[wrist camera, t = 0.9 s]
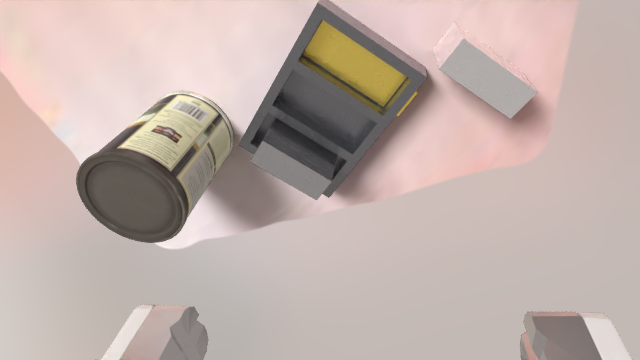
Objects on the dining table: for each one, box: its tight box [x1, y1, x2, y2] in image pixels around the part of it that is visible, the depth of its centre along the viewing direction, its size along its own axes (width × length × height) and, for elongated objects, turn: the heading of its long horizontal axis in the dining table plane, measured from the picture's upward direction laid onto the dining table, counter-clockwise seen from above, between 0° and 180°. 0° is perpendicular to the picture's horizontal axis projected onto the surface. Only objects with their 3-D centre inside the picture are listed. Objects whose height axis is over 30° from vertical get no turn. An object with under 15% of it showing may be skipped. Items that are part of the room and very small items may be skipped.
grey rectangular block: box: [433, 22, 538, 119], centre depth 36 cm, size 3×8×6 cm, turn 59°
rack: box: [239, 0, 427, 200], centre depth 40 cm, size 18×12×7 cm
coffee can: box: [76, 91, 234, 243], centre depth 42 cm, size 10×10×14 cm
